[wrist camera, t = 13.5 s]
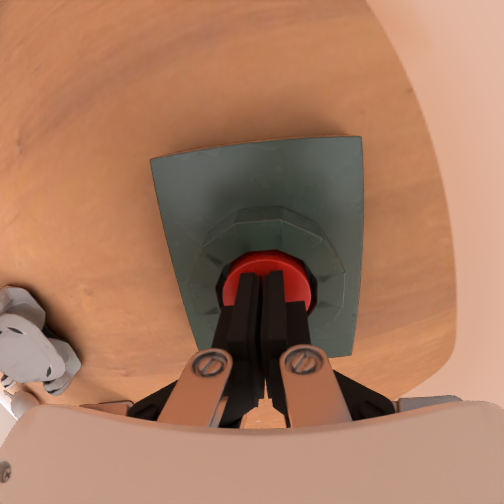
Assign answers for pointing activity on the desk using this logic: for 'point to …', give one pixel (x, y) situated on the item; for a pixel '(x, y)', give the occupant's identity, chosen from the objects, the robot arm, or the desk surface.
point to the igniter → (267, 224)
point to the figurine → (22, 402)
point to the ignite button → (261, 265)
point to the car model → (32, 345)
